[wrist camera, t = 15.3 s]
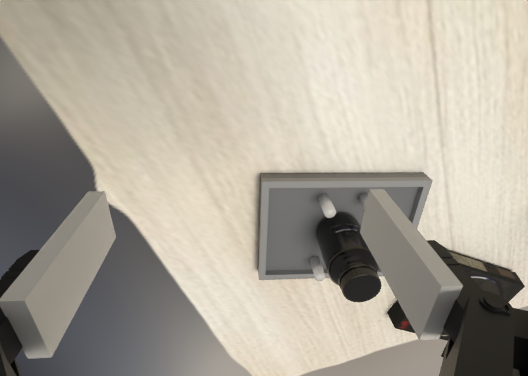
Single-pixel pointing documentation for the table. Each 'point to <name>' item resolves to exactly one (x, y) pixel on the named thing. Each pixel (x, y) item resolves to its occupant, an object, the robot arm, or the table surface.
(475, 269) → the portable cd player
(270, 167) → the table surface
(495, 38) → the table surface
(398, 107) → the table surface
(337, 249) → the supplement bottle
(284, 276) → the pin tray
